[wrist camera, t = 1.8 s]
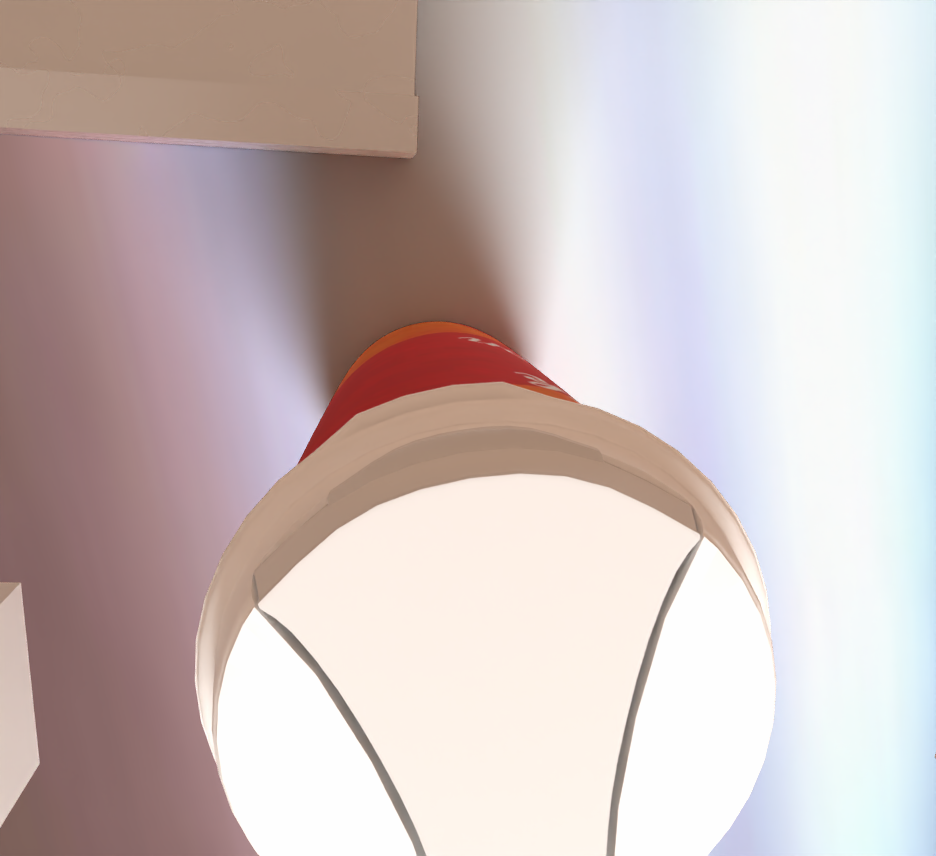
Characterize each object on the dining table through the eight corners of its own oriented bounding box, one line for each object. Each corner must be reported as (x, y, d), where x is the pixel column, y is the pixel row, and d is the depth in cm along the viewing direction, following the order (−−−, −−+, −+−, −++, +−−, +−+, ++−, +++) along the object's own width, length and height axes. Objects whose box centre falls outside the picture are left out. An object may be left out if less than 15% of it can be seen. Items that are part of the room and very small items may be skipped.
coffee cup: (582, 524, 26) (818, 929, 12) (323, 564, 26) (243, 1036, 12) (558, 256, 24) (817, 362, 10) (271, 295, 23) (90, 468, 9)
